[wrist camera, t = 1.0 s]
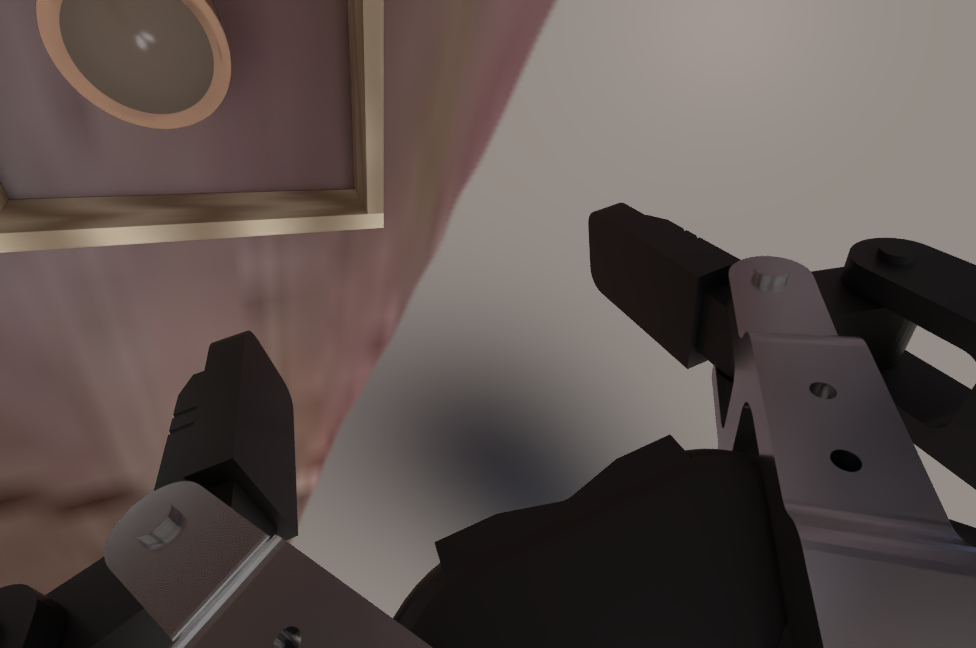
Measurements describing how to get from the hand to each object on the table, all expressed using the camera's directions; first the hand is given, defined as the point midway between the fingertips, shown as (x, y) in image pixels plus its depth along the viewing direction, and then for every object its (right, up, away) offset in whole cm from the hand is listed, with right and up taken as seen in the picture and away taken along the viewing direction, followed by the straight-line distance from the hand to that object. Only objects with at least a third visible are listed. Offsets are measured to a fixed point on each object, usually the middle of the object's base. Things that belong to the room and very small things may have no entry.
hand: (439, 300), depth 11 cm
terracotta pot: (-15, +14, +12) cm, 24 cm away
